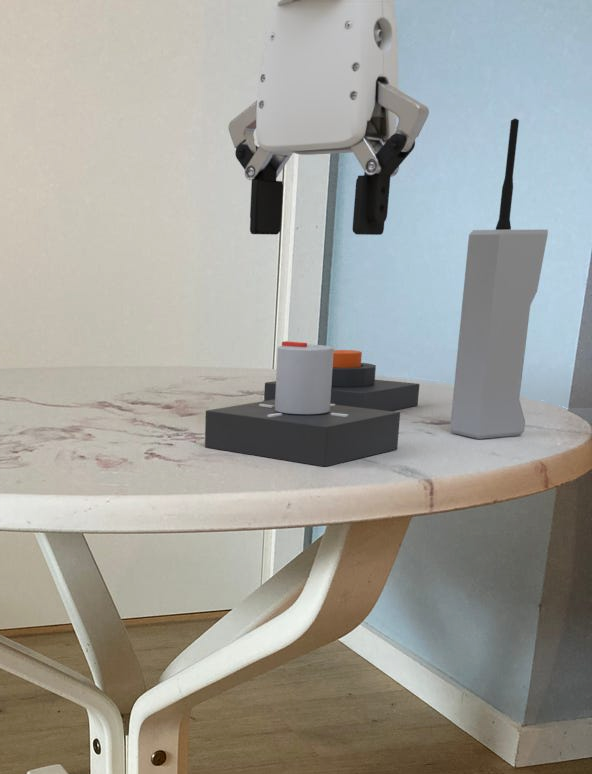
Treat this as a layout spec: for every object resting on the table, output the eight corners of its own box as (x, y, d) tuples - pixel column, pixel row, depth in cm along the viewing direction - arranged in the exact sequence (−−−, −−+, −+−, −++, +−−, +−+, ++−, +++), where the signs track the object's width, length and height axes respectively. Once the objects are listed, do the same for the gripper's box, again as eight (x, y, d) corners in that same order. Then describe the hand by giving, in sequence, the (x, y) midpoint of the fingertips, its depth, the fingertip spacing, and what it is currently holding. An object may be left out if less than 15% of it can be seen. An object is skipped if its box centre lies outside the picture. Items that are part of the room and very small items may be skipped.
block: (417, 405, 113) (421, 365, 111) (362, 416, 106) (365, 374, 105) (320, 394, 121) (323, 357, 119) (263, 404, 114) (265, 364, 113)
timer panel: (397, 449, 89) (400, 410, 88) (325, 466, 83) (327, 424, 82) (279, 432, 98) (280, 396, 96) (204, 447, 91) (205, 408, 90)
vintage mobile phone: (524, 435, 95) (562, 117, 87) (477, 439, 94) (512, 114, 85) (494, 429, 99) (528, 121, 90) (449, 433, 97) (479, 119, 88)
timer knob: (340, 410, 89) (345, 342, 87) (308, 416, 86) (312, 346, 84) (296, 405, 92) (299, 339, 90) (263, 410, 89) (266, 343, 87)
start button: (367, 369, 112) (368, 351, 112) (347, 372, 110) (348, 354, 109) (337, 366, 115) (339, 349, 114) (317, 369, 112) (318, 351, 112)
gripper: (466, -29, 76) (440, 235, 82) (268, 5, 88) (257, 234, 94) (408, -48, 71) (383, 234, 77) (206, -9, 83) (198, 233, 89)
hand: (314, 234), depth 85 cm, fingers open, 9 cm apart
